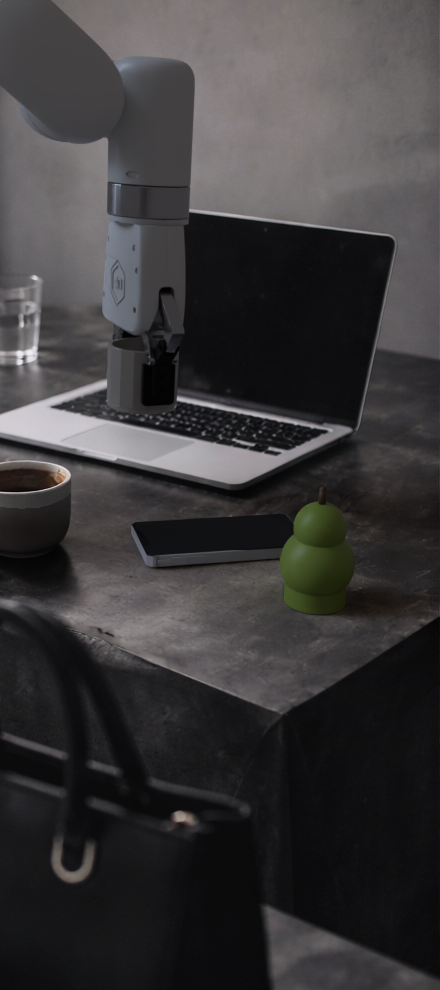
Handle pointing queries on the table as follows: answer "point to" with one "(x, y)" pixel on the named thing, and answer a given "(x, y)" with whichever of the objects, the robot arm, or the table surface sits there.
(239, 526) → the smartphone
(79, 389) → the table surface
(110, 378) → the grey faceted cup
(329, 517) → the pear
